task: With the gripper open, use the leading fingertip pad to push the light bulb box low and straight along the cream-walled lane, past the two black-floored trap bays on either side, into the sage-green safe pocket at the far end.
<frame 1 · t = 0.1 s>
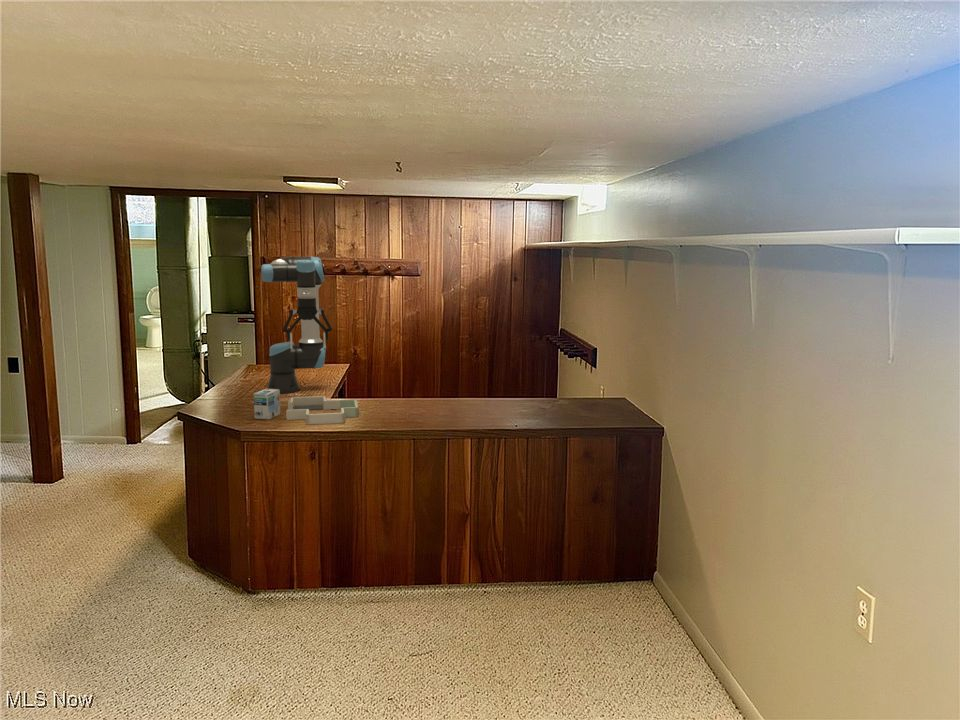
hand: (308, 348, 304), 28 cm above the table, fingers open, 13 cm apart
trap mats: (321, 413, 307), resting in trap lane
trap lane: (321, 413, 307), on the table
light bulb box: (267, 416, 302), on the table
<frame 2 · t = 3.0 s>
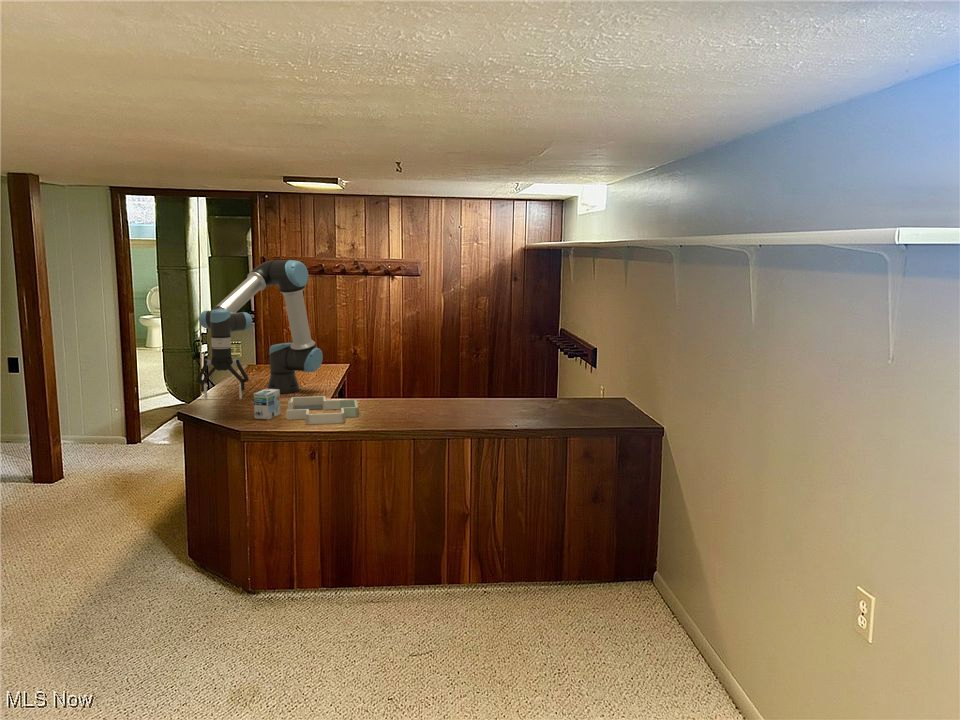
hand: (223, 398, 297), 8 cm above the table, fingers open, 13 cm apart
nothing on the table moved.
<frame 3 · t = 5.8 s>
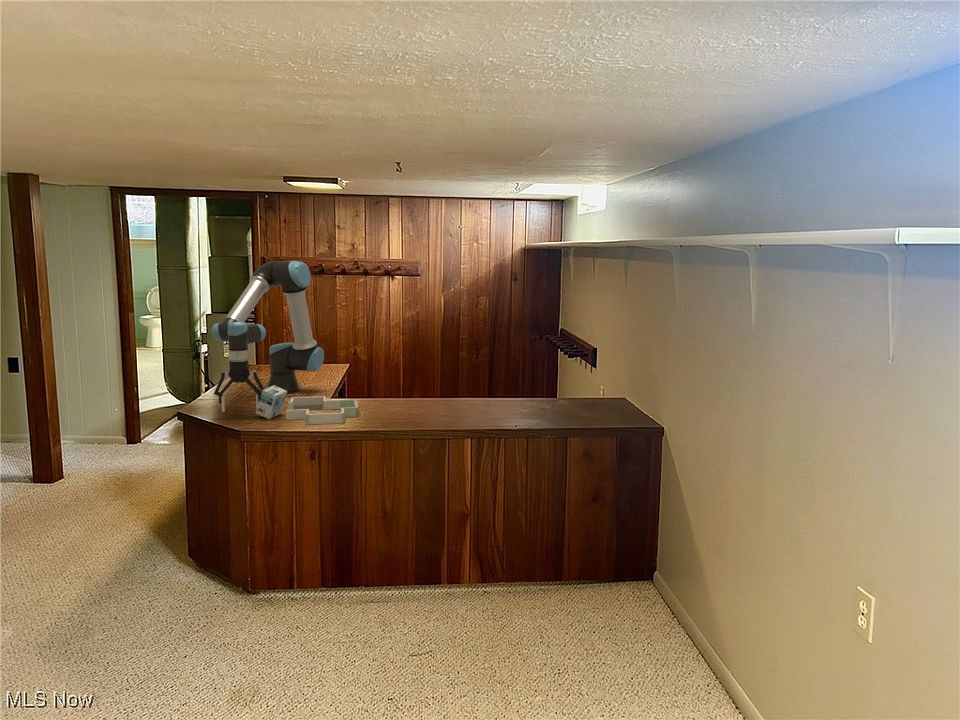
hand: (240, 410, 300), 3 cm above the table, fingers open, 13 cm apart
light bulb box: (268, 414, 302), point 1 cm above the table, touching gripper, hand
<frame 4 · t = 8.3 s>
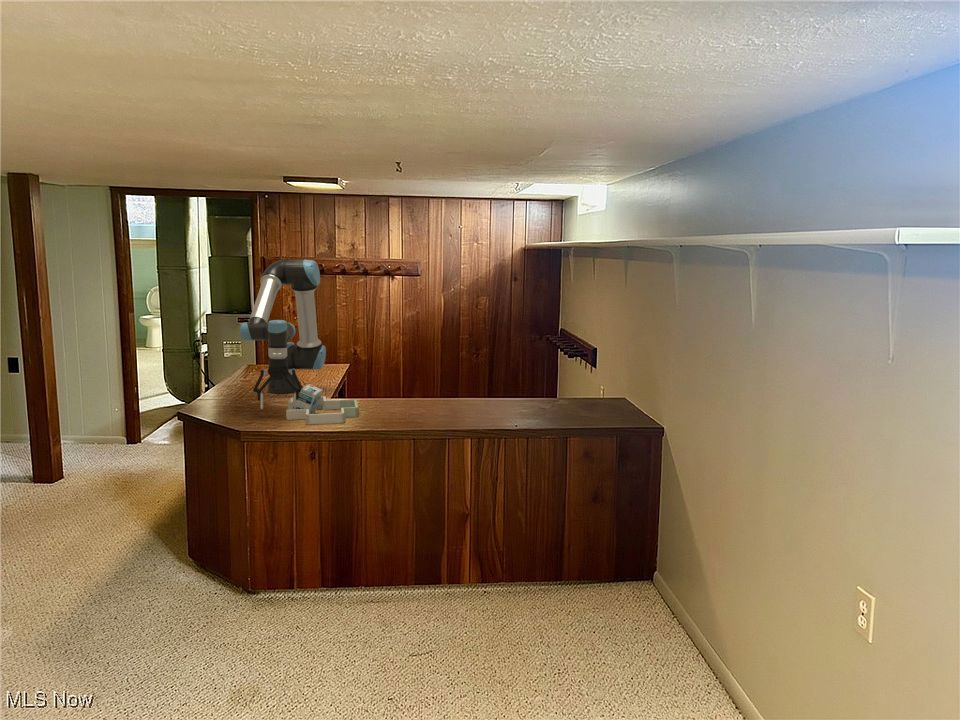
hand: (278, 408, 302), 3 cm above the table, fingers open, 13 cm apart
light bulb box: (304, 412, 305), point 1 cm above the table, touching gripper, hand
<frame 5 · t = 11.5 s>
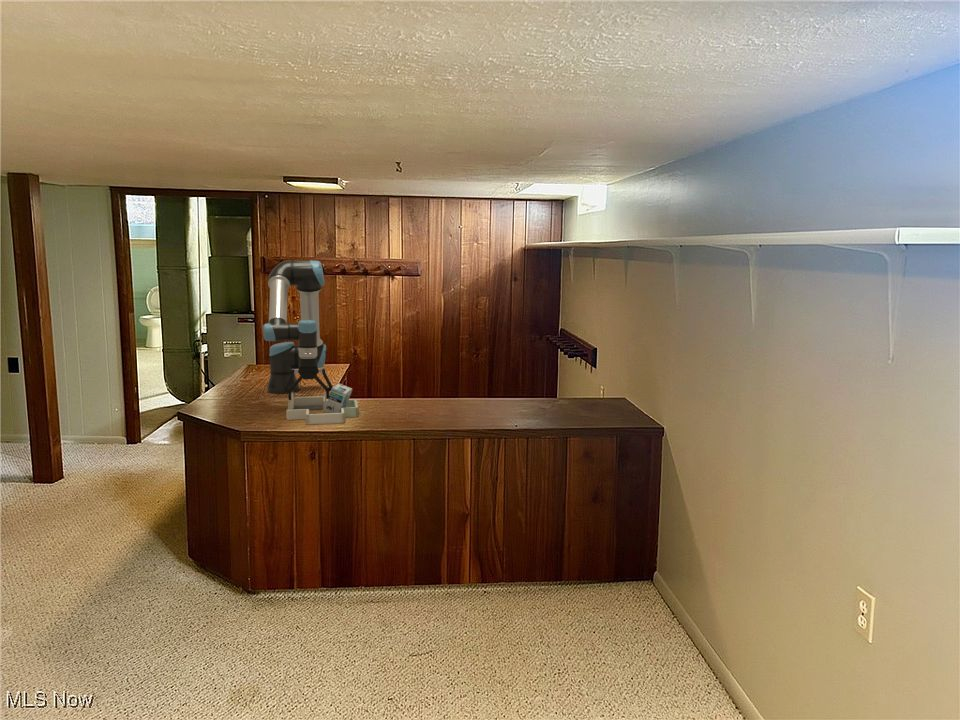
hand: (309, 407, 305), 3 cm above the table, fingers open, 13 cm apart
light bulb box: (334, 411, 308), point 1 cm above the table, touching gripper, hand
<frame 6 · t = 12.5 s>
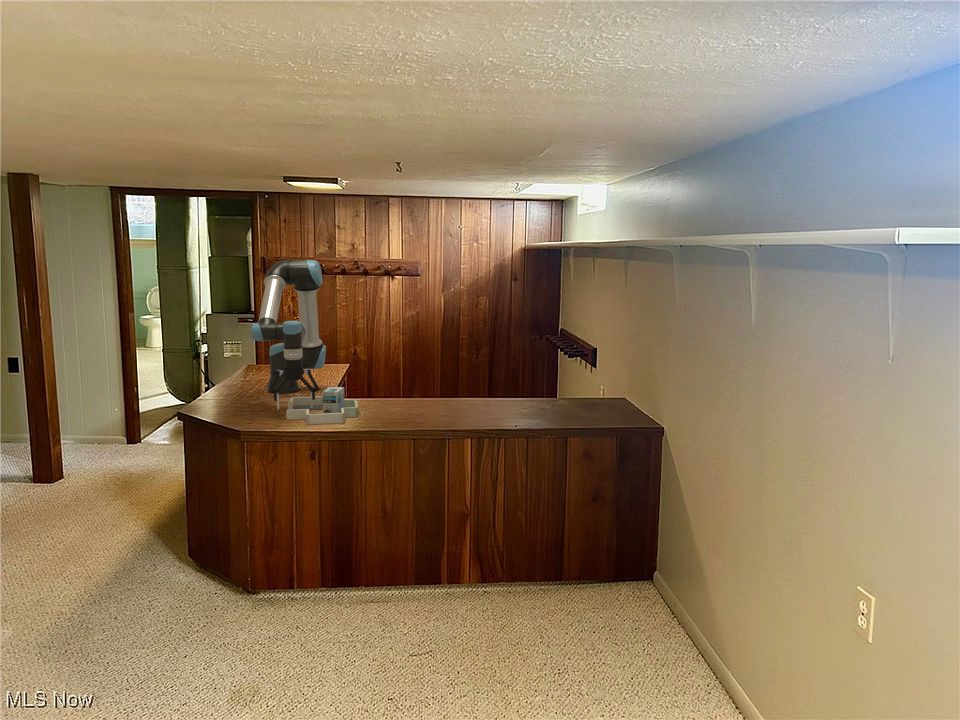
hand: (295, 408, 305), 3 cm above the table, fingers open, 13 cm apart
light bulb box: (334, 414, 308), resting in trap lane
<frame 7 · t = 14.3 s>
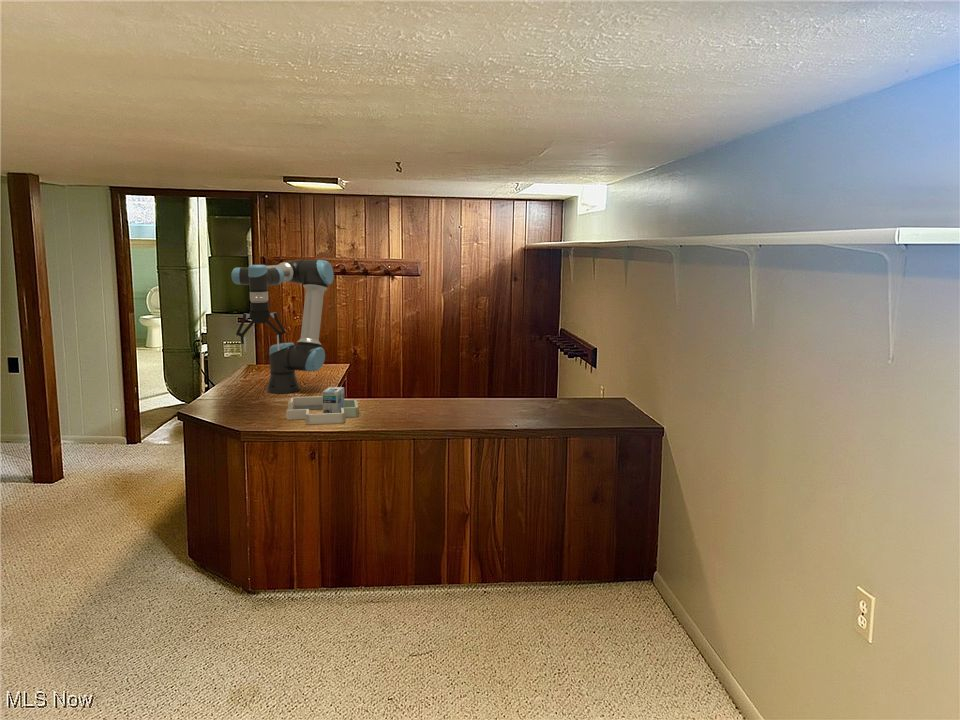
hand: (262, 350, 311), 26 cm above the table, fingers open, 13 cm apart
nothing on the table moved.
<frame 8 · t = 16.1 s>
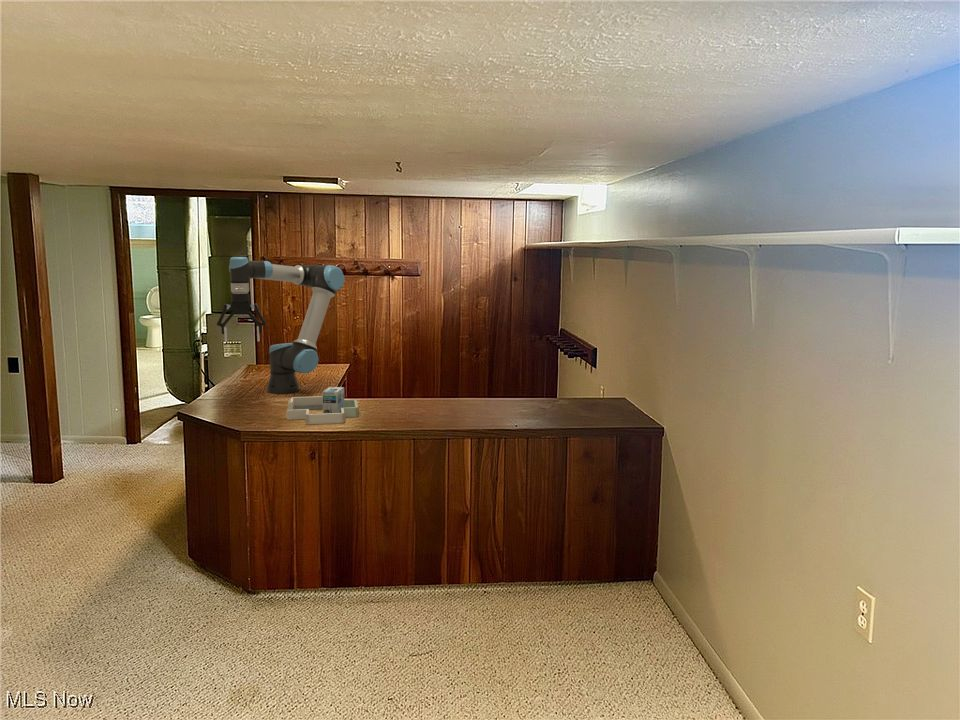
hand: (242, 341, 316), 29 cm above the table, fingers open, 13 cm apart
nothing on the table moved.
at the end: light bulb box inside the target area (3.1 cm from its centre), resting in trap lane; light bulb box tilted 0°; light bulb box moved 27.2 cm from its start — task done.
